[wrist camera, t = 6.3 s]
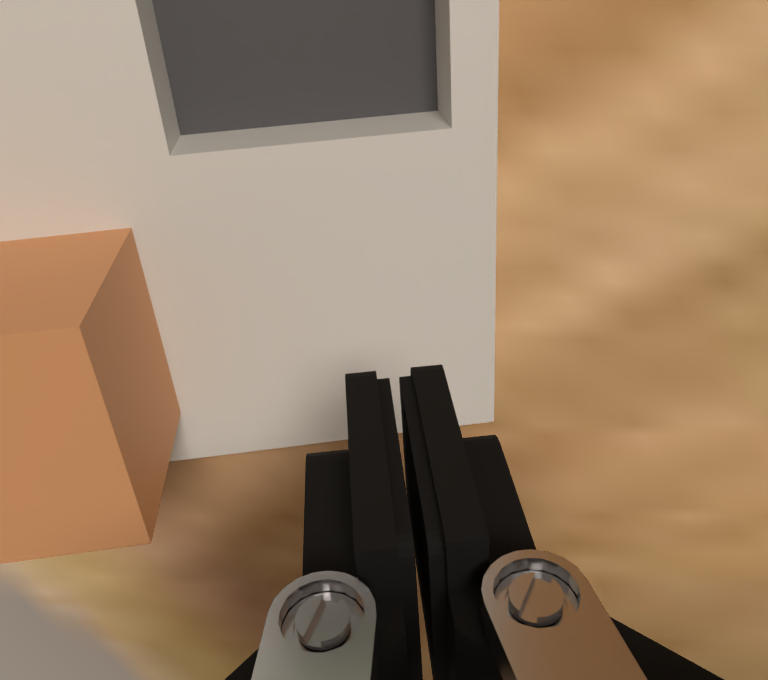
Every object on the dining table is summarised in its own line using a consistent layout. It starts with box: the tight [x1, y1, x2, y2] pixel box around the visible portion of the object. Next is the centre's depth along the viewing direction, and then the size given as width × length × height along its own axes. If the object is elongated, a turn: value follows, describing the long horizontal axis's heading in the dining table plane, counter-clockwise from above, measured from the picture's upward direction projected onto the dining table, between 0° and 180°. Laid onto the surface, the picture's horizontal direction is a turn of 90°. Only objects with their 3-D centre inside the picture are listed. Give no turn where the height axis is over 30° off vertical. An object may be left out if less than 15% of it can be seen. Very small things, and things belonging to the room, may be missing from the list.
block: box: [0, 228, 181, 564], centre depth 15 cm, size 5×5×4 cm
